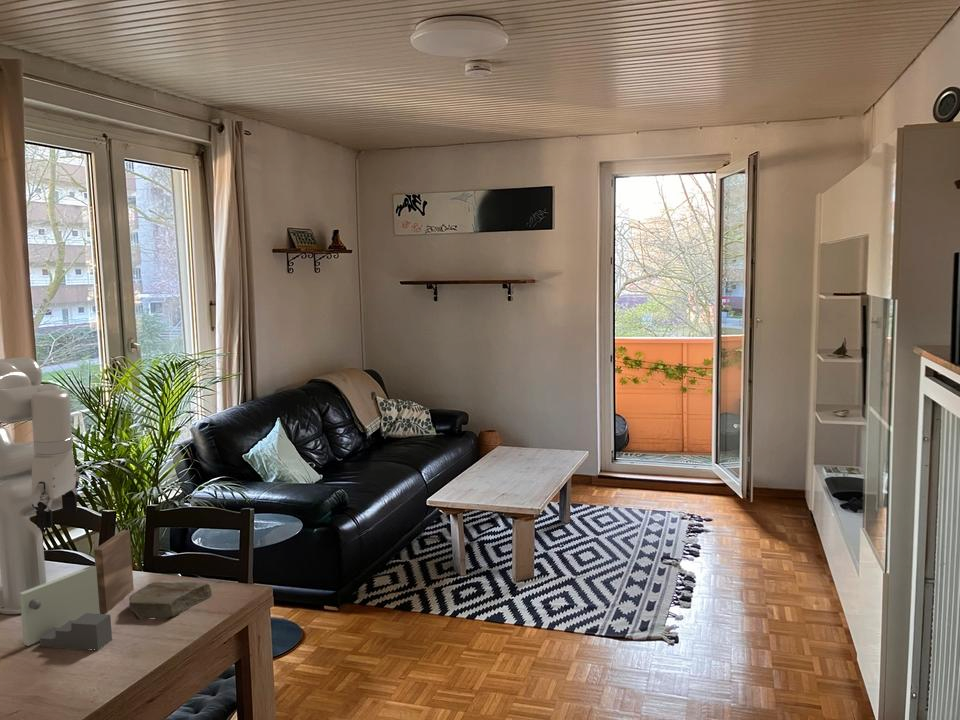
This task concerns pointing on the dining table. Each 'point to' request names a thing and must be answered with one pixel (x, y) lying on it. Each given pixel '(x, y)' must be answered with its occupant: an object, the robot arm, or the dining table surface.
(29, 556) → the robot arm
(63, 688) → the dining table surface
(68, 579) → the door
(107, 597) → the wood grain plank
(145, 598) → the marble piece
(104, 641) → the grey stepped block
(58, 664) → the dining table surface
